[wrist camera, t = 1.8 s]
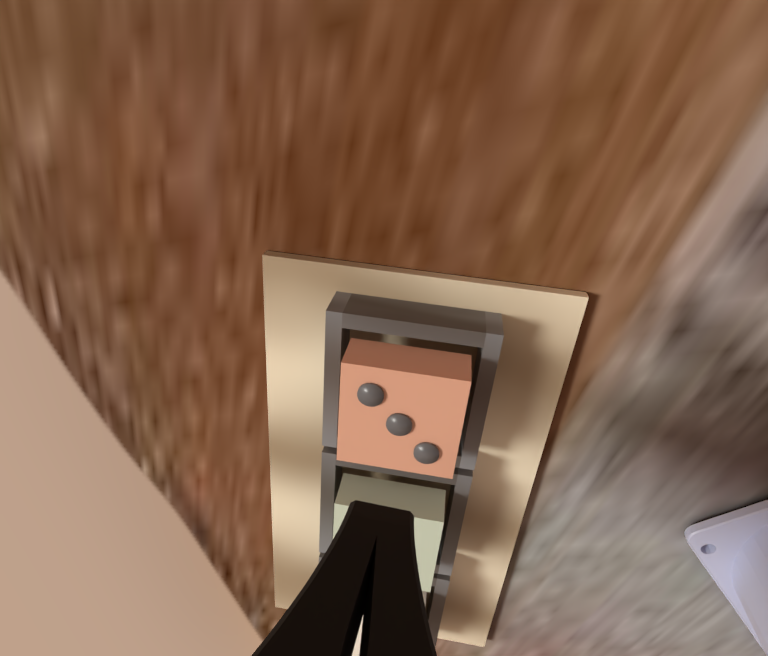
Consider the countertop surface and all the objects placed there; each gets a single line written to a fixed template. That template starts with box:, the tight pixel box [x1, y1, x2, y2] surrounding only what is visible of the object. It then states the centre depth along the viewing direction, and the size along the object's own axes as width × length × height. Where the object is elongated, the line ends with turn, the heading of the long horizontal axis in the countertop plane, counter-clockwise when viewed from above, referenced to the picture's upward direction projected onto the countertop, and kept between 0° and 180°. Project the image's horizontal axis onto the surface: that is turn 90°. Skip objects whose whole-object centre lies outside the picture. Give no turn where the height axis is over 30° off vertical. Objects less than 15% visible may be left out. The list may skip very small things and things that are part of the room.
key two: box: [333, 473, 446, 592], centre depth 18 cm, size 4×4×2 cm
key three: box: [336, 338, 471, 479], centre depth 16 cm, size 4×4×2 cm
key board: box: [262, 251, 589, 647], centre depth 20 cm, size 18×10×2 cm, turn 175°
